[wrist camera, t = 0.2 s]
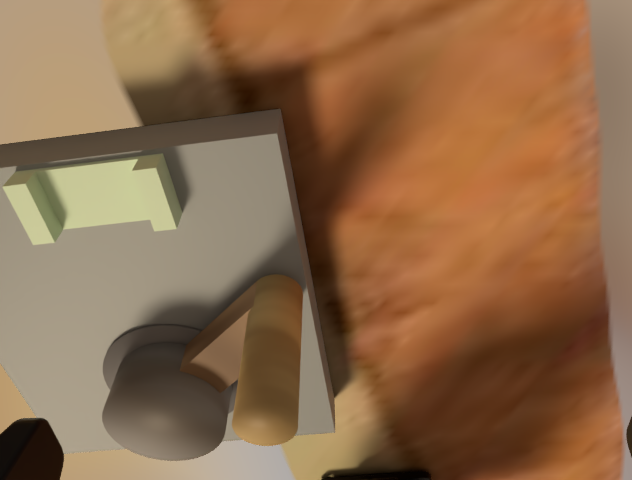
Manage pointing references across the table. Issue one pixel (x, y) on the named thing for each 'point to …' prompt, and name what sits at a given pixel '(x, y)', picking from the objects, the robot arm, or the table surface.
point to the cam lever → (215, 380)
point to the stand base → (143, 258)
